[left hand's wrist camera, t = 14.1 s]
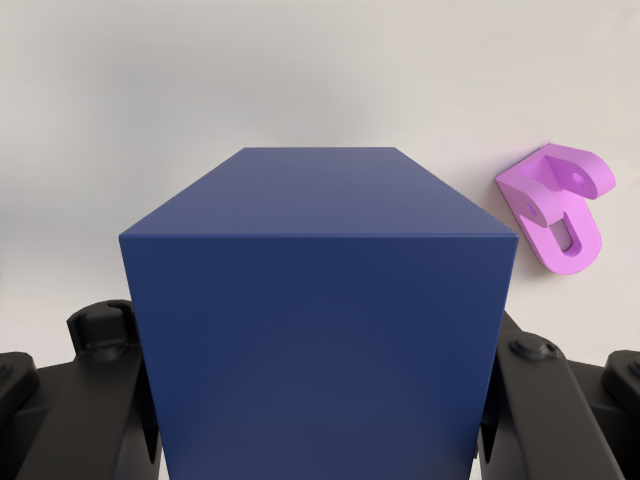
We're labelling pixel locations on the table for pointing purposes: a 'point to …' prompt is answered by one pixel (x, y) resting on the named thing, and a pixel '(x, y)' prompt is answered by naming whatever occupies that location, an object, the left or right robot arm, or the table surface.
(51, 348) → the table surface
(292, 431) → the bar
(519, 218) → the bracket
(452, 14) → the table surface
